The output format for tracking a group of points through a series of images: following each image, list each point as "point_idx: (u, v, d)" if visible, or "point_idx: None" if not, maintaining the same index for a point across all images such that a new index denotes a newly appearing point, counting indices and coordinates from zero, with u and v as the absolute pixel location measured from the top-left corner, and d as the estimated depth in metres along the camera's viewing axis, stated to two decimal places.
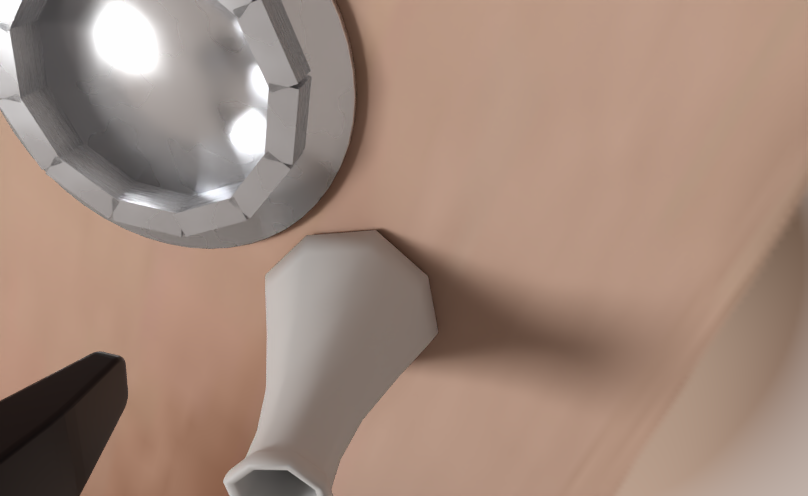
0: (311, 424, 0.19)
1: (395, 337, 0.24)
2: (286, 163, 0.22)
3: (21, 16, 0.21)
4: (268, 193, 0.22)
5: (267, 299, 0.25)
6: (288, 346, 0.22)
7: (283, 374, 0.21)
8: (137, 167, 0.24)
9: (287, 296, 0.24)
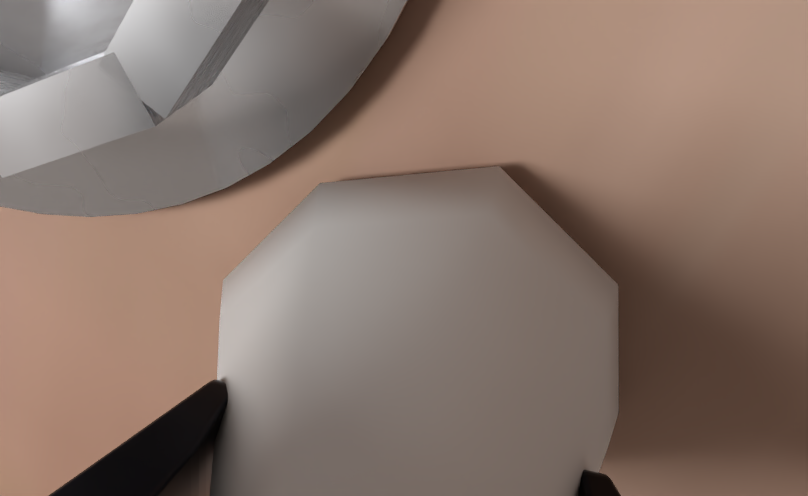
0: None
1: (568, 453, 0.09)
2: None
3: None
4: (212, 35, 0.07)
5: (222, 341, 0.10)
6: None
7: None
8: None
9: (271, 340, 0.09)
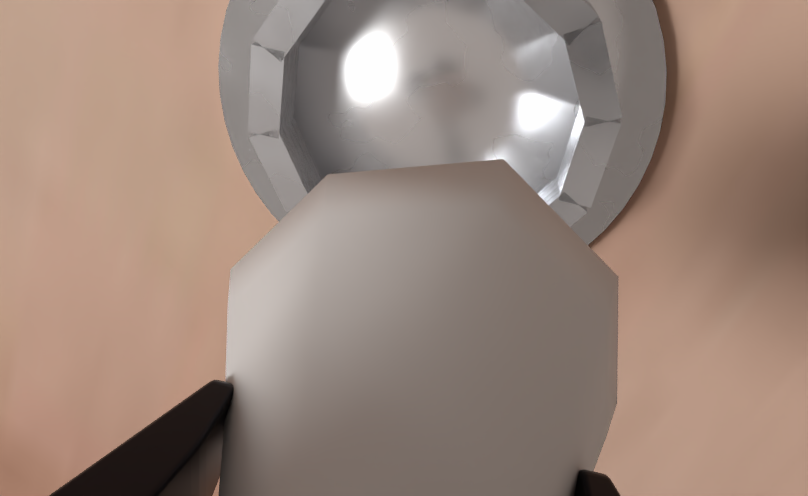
0: None
1: (570, 438, 0.09)
2: (583, 205, 0.19)
3: (296, 42, 0.18)
4: None
5: (231, 329, 0.10)
6: (279, 487, 0.07)
7: None
8: None
9: (281, 326, 0.09)
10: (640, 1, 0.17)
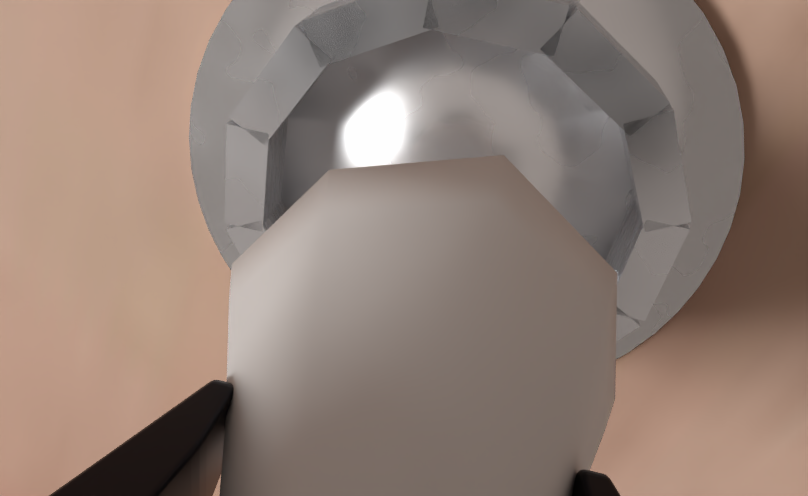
0: None
1: (568, 432, 0.09)
2: (635, 318, 0.16)
3: (283, 121, 0.15)
4: None
5: (232, 322, 0.10)
6: (281, 477, 0.07)
7: None
8: None
9: (282, 320, 0.09)
10: (717, 77, 0.14)
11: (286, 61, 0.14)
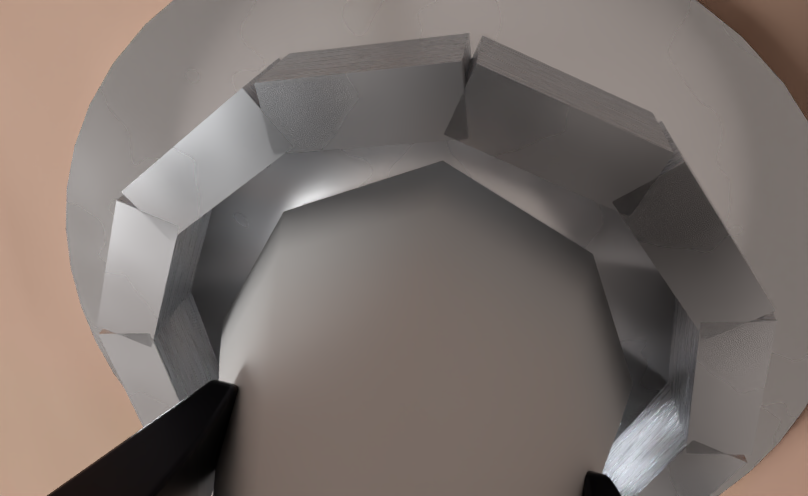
0: None
1: (553, 430, 0.08)
2: (736, 453, 0.10)
3: (167, 309, 0.11)
4: None
5: (221, 377, 0.11)
6: None
7: None
8: None
9: (251, 367, 0.09)
10: (748, 80, 0.09)
11: (128, 244, 0.10)
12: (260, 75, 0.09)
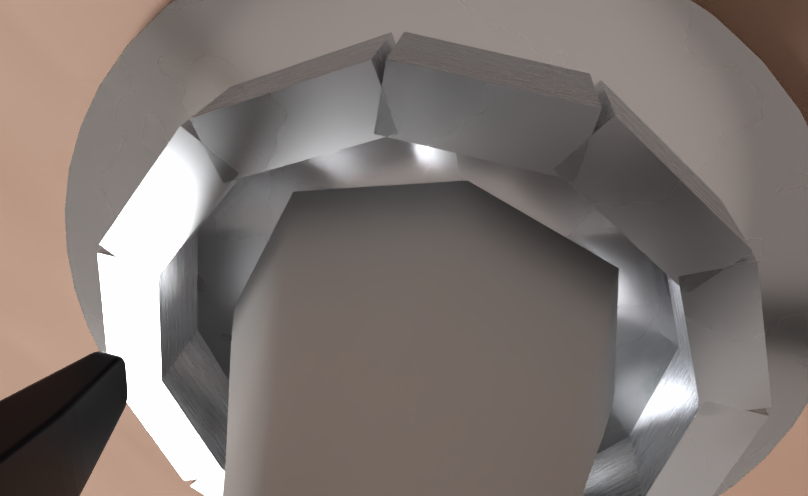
0: None
1: (464, 364, 0.08)
2: (736, 260, 0.08)
3: (218, 438, 0.13)
4: (760, 339, 0.09)
5: None
6: None
7: None
8: None
9: None
10: None
11: (145, 408, 0.12)
12: None
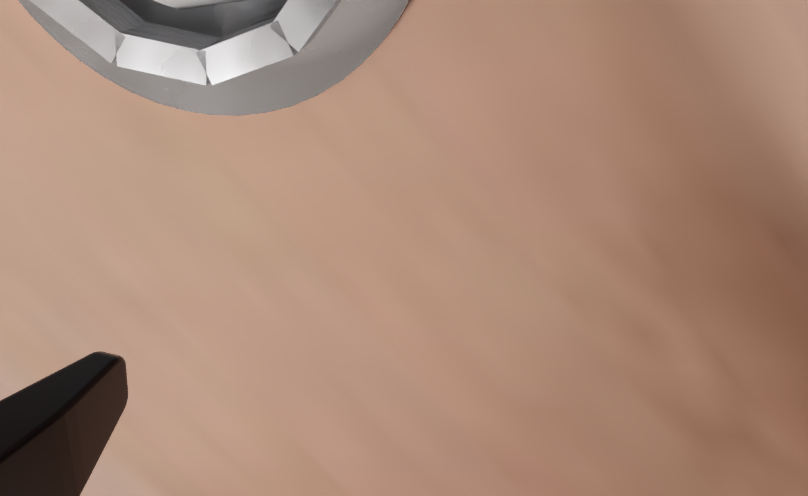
0: None
1: None
2: None
3: None
4: None
5: None
6: None
7: None
8: None
9: None
10: None
11: None
12: None
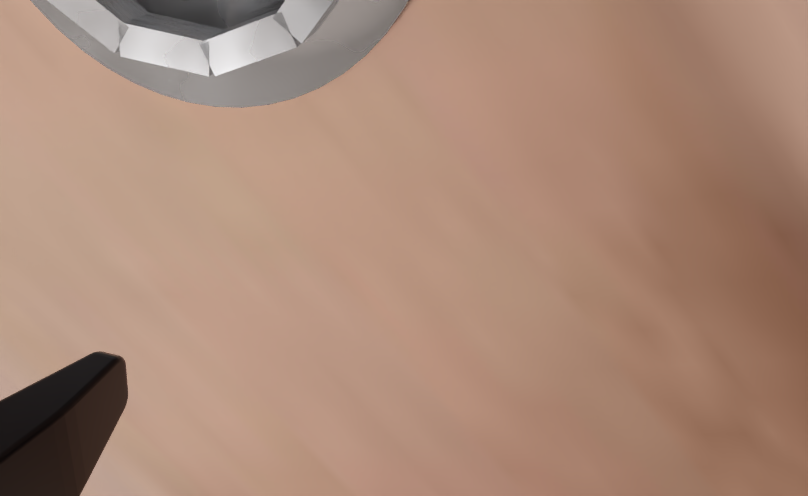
0: None
1: None
2: None
3: None
4: None
5: None
6: None
7: None
8: None
9: None
10: None
11: None
12: None
